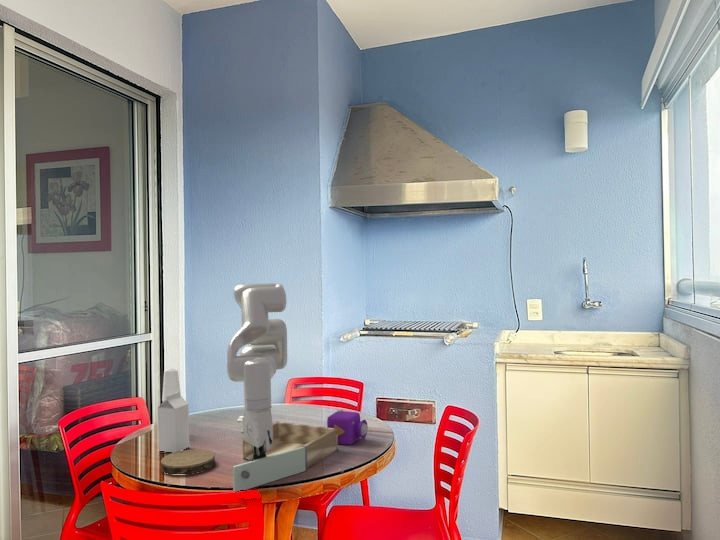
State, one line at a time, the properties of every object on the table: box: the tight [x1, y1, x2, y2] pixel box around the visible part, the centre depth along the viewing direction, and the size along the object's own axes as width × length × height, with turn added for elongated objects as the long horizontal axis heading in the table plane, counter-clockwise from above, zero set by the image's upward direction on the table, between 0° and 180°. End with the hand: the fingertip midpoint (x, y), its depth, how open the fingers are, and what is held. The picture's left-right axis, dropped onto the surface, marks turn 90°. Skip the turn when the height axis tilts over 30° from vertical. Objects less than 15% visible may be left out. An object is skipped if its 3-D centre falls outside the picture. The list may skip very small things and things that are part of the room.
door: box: [232, 446, 308, 491], centre depth 156 cm, size 24×2×7 cm, turn 131°
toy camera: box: [326, 409, 368, 446], centre depth 191 cm, size 11×14×10 cm
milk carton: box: [157, 391, 190, 453], centre depth 187 cm, size 7×7×19 cm
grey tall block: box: [161, 368, 182, 403], centre depth 205 cm, size 7×7×24 cm
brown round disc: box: [160, 448, 216, 475], centre depth 171 cm, size 16×16×3 cm
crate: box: [242, 421, 339, 470], centre depth 179 cm, size 24×19×7 cm
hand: (259, 467), depth 158 cm, fingers closed
